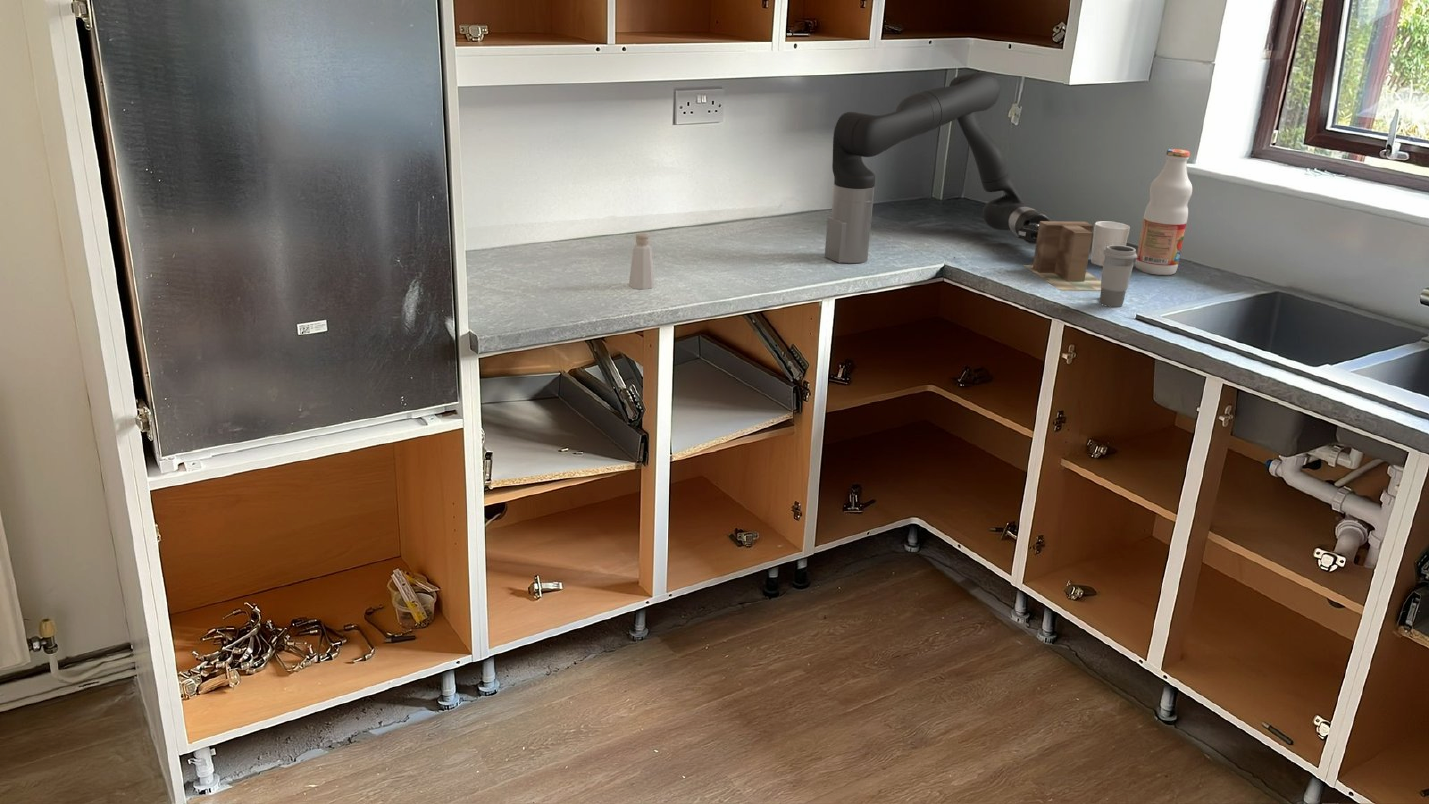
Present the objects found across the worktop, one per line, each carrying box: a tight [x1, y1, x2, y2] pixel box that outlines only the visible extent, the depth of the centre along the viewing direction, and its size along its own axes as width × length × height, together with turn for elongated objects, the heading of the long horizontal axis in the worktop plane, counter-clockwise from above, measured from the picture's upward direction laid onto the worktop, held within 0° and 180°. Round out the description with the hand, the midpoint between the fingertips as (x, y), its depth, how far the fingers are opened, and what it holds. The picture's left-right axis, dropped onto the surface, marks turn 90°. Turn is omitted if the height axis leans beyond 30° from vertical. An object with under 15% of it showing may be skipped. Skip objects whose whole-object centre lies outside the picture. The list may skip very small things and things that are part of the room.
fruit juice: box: [1134, 148, 1193, 276], centre depth 254 cm, size 9×9×28 cm
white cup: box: [1090, 220, 1131, 267], centre depth 259 cm, size 8×8×10 cm
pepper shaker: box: [628, 232, 656, 290], centre depth 227 cm, size 5×5×11 cm
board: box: [1023, 264, 1101, 292], centre depth 247 cm, size 21×13×1 cm, turn 8°
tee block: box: [1032, 220, 1094, 282], centre depth 246 cm, size 11×11×11 cm
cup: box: [1099, 245, 1137, 308], centre depth 229 cm, size 7×7×12 cm
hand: (1059, 241), depth 251 cm, fingers closed
